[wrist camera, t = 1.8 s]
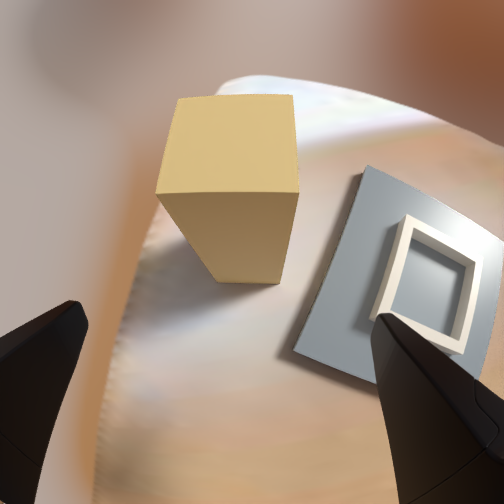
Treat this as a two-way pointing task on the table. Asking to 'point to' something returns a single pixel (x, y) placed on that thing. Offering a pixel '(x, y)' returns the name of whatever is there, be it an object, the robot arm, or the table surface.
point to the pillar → (233, 182)
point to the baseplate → (405, 279)
